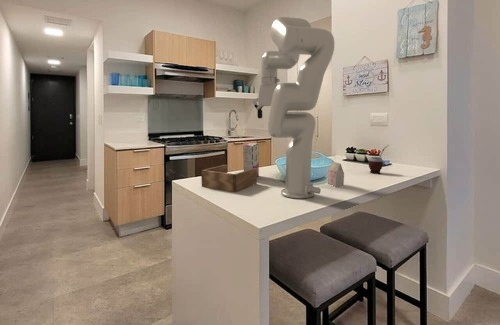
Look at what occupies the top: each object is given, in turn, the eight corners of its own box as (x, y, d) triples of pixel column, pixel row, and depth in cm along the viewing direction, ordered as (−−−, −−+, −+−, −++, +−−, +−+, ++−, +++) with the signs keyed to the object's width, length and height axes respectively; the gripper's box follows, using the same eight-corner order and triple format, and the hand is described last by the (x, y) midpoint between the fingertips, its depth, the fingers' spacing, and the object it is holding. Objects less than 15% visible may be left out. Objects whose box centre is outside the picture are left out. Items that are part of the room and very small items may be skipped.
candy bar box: (249, 175, 154) (249, 142, 152) (259, 175, 153) (259, 143, 150) (242, 180, 144) (242, 145, 141) (253, 180, 142) (253, 145, 140)
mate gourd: (364, 172, 162) (366, 144, 160) (375, 171, 166) (377, 143, 163) (376, 175, 156) (378, 145, 153) (387, 173, 159) (389, 144, 156)
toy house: (335, 183, 138) (336, 161, 136) (343, 186, 131) (344, 163, 130) (327, 183, 137) (328, 161, 135) (335, 187, 130) (336, 164, 129)
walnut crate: (256, 183, 136) (256, 168, 135) (235, 192, 122) (235, 174, 121) (225, 179, 145) (224, 164, 144) (201, 186, 131) (201, 170, 130)
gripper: (289, 81, 144) (288, 118, 147) (257, 83, 153) (257, 118, 156) (282, 80, 137) (281, 119, 140) (249, 82, 146) (249, 118, 149)
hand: (268, 118), depth 148 cm, fingers open, 9 cm apart
